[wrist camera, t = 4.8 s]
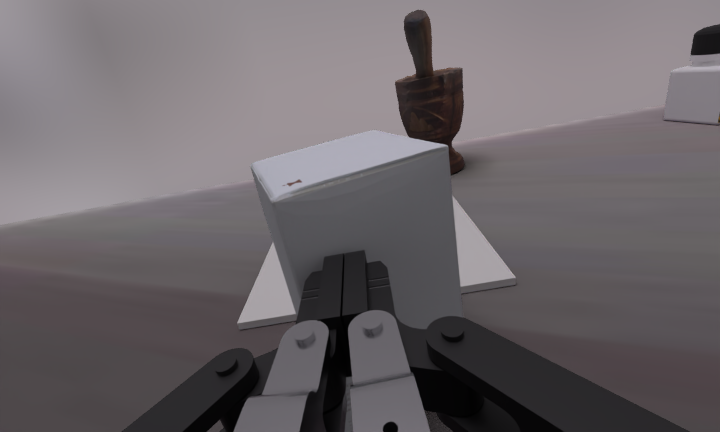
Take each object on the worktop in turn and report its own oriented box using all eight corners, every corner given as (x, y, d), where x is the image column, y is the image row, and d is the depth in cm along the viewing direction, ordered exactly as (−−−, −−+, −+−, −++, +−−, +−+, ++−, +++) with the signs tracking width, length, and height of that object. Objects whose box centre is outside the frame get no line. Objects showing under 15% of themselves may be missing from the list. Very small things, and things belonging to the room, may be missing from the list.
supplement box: (473, 381, 18) (456, 142, 13) (341, 450, 16) (262, 198, 11) (405, 305, 25) (377, 125, 20) (305, 348, 23) (245, 159, 18)
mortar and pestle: (487, 178, 44) (480, -5, 36) (419, 192, 44) (397, 12, 36) (456, 157, 55) (445, 12, 47) (402, 168, 55) (382, 24, 47)
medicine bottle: (718, 125, 46) (740, 23, 41) (661, 120, 53) (675, 32, 48) (758, 114, 48) (784, 14, 43) (698, 110, 54) (715, 23, 49)
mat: (239, 329, 26) (237, 323, 25) (283, 225, 42) (282, 221, 42) (515, 284, 25) (515, 277, 24) (449, 196, 41) (449, 191, 41)
